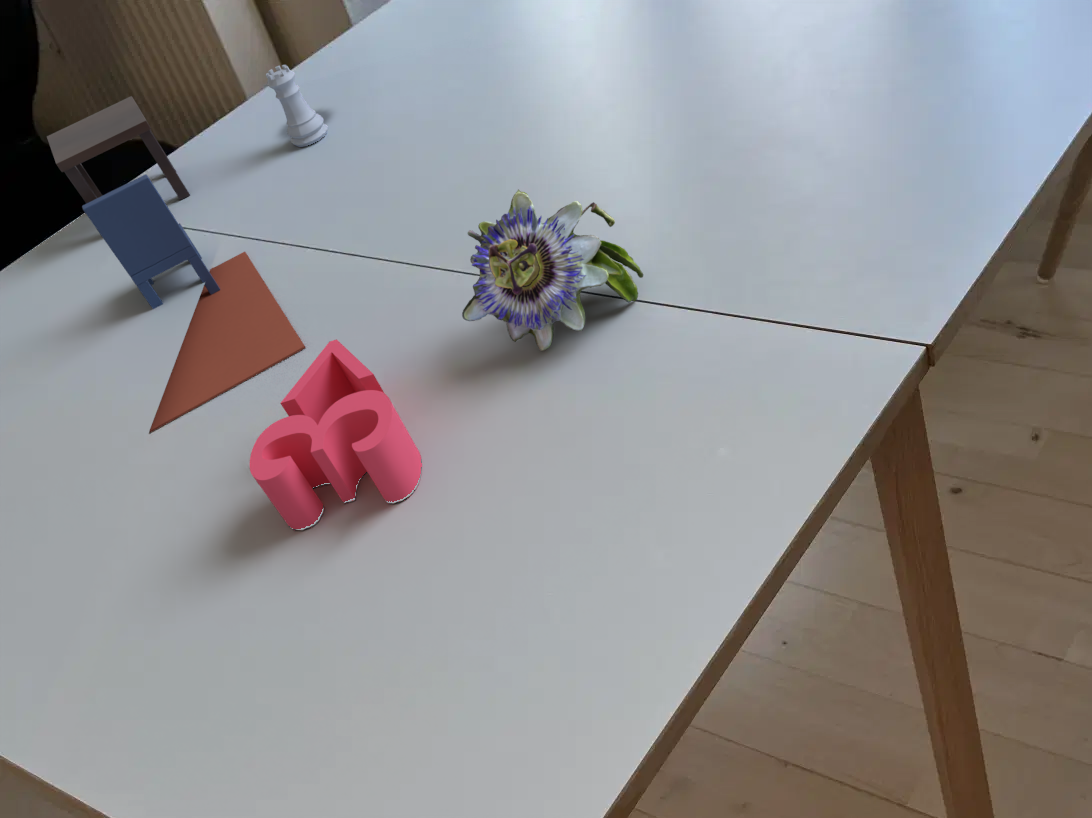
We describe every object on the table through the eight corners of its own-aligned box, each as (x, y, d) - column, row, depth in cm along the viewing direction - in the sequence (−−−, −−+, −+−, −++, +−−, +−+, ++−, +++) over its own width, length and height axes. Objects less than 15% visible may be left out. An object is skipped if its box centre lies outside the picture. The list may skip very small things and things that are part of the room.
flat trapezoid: (112, 322, 105) (110, 320, 105) (245, 252, 108) (244, 251, 107) (150, 432, 89) (149, 431, 89) (306, 347, 92) (304, 346, 92)
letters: (303, 408, 85) (271, 358, 82) (426, 371, 84) (399, 319, 81) (280, 537, 75) (243, 486, 72) (420, 496, 74) (389, 443, 71)
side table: (95, 207, 127) (46, 136, 120) (175, 167, 129) (131, 95, 122) (107, 237, 119) (56, 164, 113) (192, 195, 121) (146, 120, 115)
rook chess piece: (325, 142, 122) (290, 74, 116) (288, 152, 123) (252, 85, 117) (333, 123, 125) (300, 56, 120) (297, 133, 126) (263, 67, 120)
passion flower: (571, 397, 86) (438, 335, 80) (566, 298, 93) (443, 232, 86) (666, 314, 80) (529, 239, 73) (654, 214, 86) (528, 135, 79)
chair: (150, 296, 106) (74, 187, 98) (207, 266, 107) (137, 156, 99) (161, 321, 102) (82, 209, 94) (220, 290, 103) (148, 177, 95)
